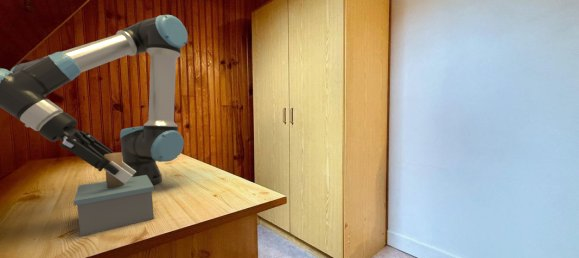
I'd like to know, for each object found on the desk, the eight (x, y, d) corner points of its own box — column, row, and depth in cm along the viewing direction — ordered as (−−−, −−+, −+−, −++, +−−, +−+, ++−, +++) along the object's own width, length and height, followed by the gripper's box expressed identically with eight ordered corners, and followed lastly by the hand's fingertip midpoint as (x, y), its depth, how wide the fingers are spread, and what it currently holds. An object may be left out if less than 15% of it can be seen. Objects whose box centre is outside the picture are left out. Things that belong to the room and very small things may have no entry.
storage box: (84, 216, 75) (81, 189, 74) (147, 203, 84) (145, 179, 83) (80, 236, 64) (77, 204, 63) (153, 218, 73) (151, 190, 72)
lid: (79, 192, 75) (75, 154, 73) (147, 181, 84) (144, 147, 83) (74, 209, 62) (69, 163, 61) (154, 194, 72) (151, 154, 71)
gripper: (56, 129, 74) (127, 179, 82) (18, 136, 58) (111, 197, 66) (76, 110, 76) (145, 161, 83) (45, 111, 60) (134, 174, 67)
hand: (130, 177), depth 74 cm, fingers closed on lid, 4 cm apart
